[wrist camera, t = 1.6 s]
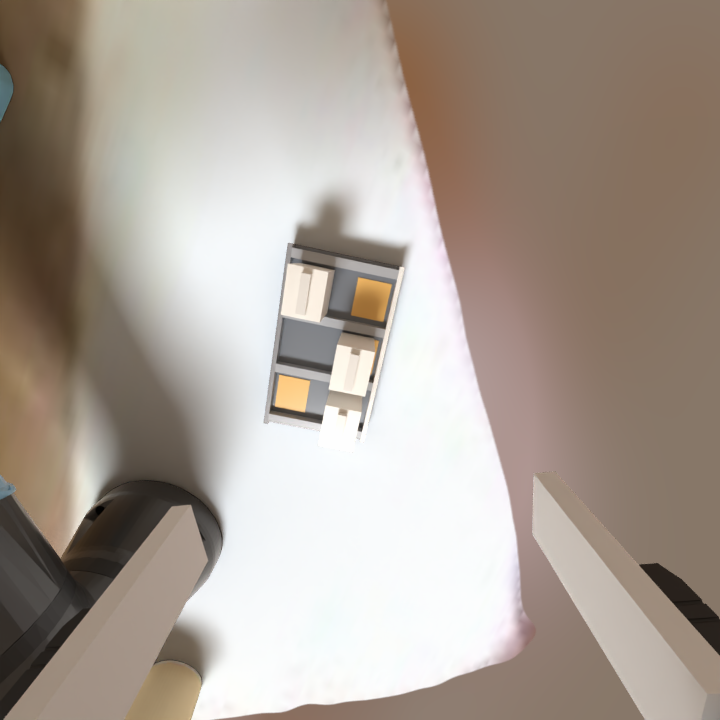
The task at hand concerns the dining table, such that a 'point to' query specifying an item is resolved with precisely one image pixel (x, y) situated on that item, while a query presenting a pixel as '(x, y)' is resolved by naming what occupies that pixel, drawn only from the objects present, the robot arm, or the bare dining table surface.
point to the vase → (5, 90)
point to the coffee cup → (167, 693)
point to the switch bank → (329, 337)
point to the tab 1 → (307, 291)
